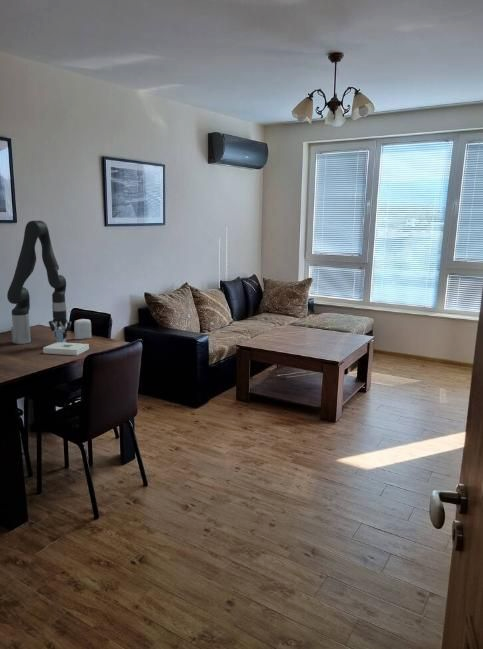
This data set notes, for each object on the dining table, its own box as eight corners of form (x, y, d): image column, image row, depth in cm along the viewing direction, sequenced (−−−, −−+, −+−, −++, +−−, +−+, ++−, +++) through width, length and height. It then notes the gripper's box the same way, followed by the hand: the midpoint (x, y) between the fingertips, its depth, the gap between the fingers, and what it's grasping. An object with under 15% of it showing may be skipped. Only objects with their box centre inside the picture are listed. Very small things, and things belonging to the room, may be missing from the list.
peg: (56, 345, 282) (55, 330, 280) (60, 344, 285) (59, 329, 284) (62, 346, 281) (61, 331, 279) (66, 344, 285) (65, 329, 283)
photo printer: (90, 336, 306) (89, 317, 303) (92, 338, 302) (91, 319, 300) (73, 338, 300) (72, 319, 297) (75, 340, 296) (74, 320, 294)
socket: (43, 353, 265) (43, 347, 264) (56, 347, 278) (56, 342, 278) (76, 355, 262) (76, 349, 261) (89, 349, 275) (88, 344, 275)
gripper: (44, 310, 276) (46, 339, 280) (67, 311, 274) (68, 340, 278) (51, 308, 284) (53, 336, 287) (73, 309, 281) (75, 337, 285)
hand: (61, 338), depth 282 cm, fingers closed on peg, 4 cm apart
